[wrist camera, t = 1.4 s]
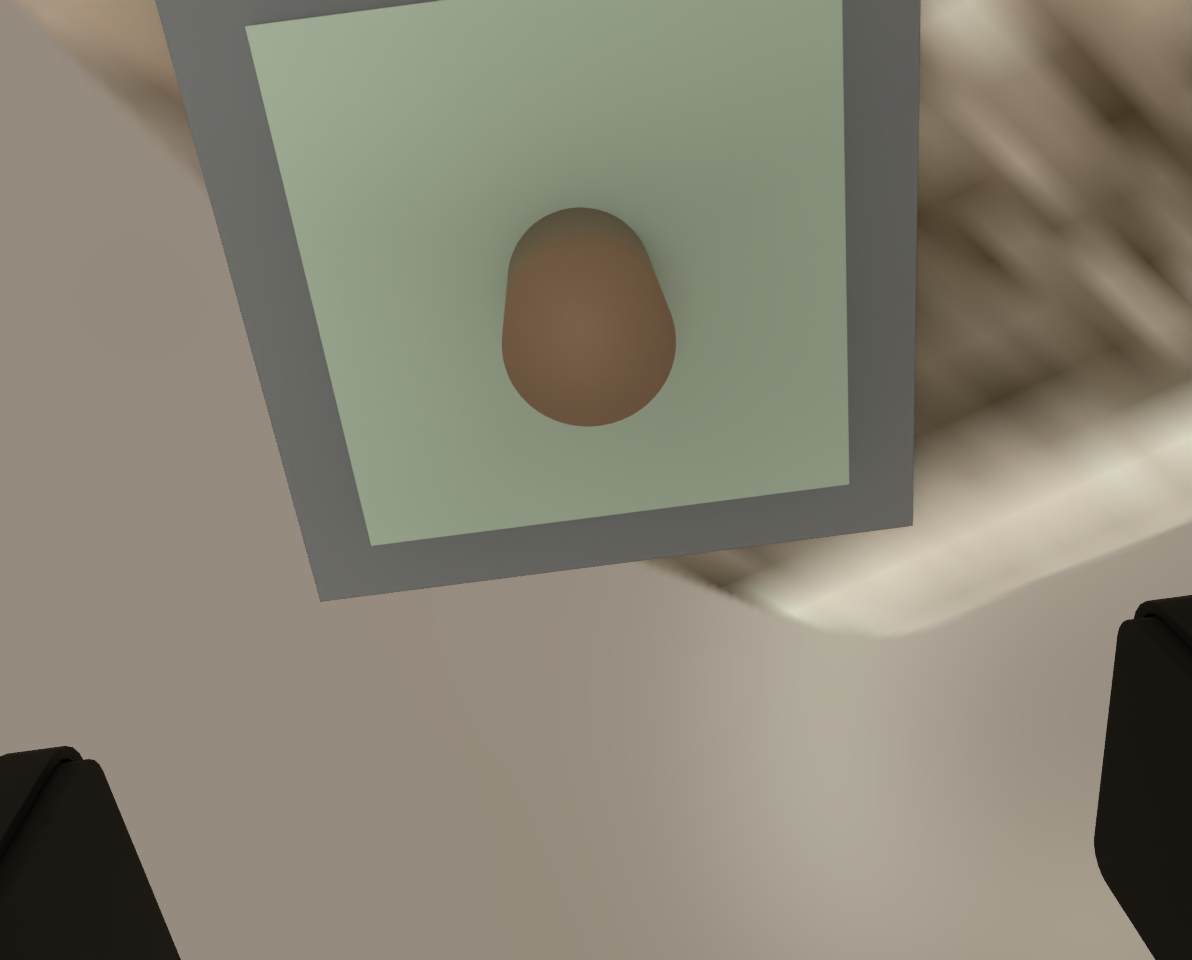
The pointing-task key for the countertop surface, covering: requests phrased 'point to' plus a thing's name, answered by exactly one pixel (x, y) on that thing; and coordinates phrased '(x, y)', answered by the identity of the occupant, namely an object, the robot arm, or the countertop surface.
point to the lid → (570, 250)
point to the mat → (355, 568)
